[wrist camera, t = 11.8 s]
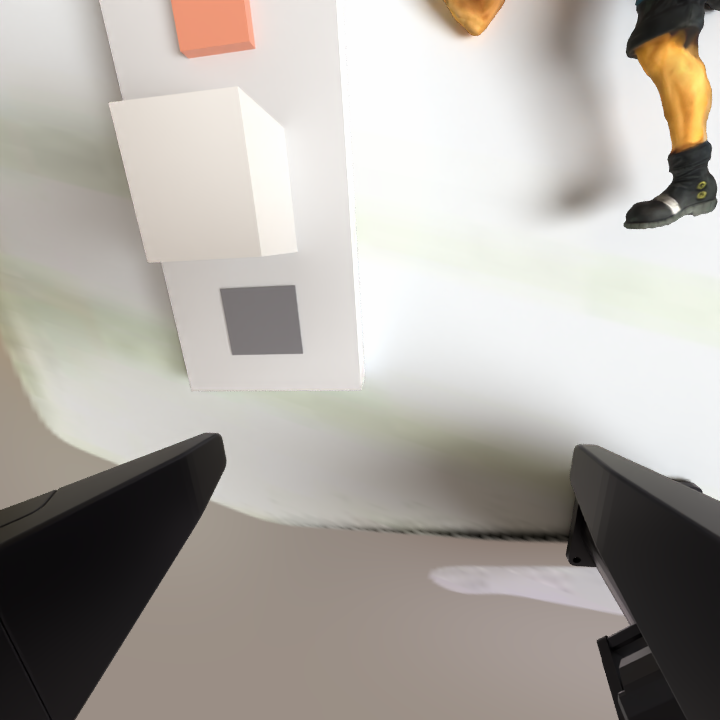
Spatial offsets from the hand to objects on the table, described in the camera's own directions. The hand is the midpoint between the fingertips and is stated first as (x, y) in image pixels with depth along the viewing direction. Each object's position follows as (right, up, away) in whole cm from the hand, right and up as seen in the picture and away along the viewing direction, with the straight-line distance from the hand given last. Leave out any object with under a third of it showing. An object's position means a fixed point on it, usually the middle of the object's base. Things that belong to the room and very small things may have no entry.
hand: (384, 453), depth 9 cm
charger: (-6, +11, +9) cm, 15 cm away
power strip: (-6, +11, +9) cm, 15 cm away
